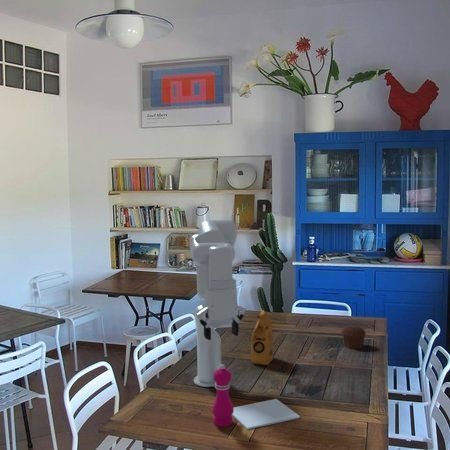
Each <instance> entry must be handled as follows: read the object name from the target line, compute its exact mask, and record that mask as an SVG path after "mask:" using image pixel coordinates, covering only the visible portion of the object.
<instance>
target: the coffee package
mask: <svg viewBox="0 0 450 450" xmlns="http://www.w3.org/2000/svg"><path fill="white" fill-rule="evenodd" d="M256 319H258V320H257V322H256V324H255V326H254V328H253V331H252V334H251V340H250V350H251V351H250V354H251V356H250V358H251V363H252V364H256V365H264V366H265V365H266V366H269V365H270V363H271V362H272V361H273V359H274V335H273V326H272V323H271V320H270V318H269V317H268V315H267V313H266V312H265V310H264V309H262V310H261V311H260V314H258V315H257V316H256Z"/></svg>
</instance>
